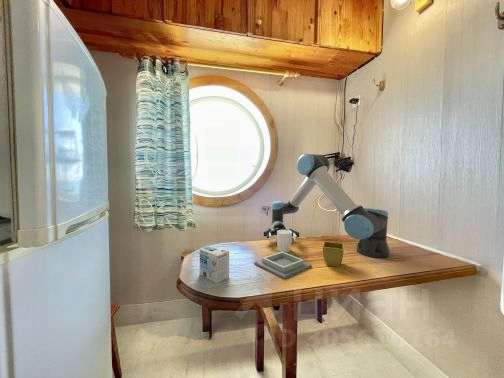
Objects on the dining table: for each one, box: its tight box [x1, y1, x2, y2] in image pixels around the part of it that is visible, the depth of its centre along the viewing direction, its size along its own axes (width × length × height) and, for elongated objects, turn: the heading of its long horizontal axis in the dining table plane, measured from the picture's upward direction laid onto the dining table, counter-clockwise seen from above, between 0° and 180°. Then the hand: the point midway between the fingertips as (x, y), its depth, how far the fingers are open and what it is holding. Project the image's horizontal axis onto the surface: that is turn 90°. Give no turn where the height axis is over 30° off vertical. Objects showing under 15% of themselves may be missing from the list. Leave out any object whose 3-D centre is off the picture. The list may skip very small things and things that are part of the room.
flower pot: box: [322, 240, 345, 268], centre depth 102 cm, size 9×9×9 cm
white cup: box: [276, 229, 293, 253], centre depth 120 cm, size 8×8×10 cm
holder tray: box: [253, 251, 313, 280], centre depth 101 cm, size 18×18×3 cm
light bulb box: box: [199, 245, 230, 284], centre depth 89 cm, size 11×7×11 cm, turn 51°
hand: (283, 238), depth 121 cm, fingers open, 13 cm apart
